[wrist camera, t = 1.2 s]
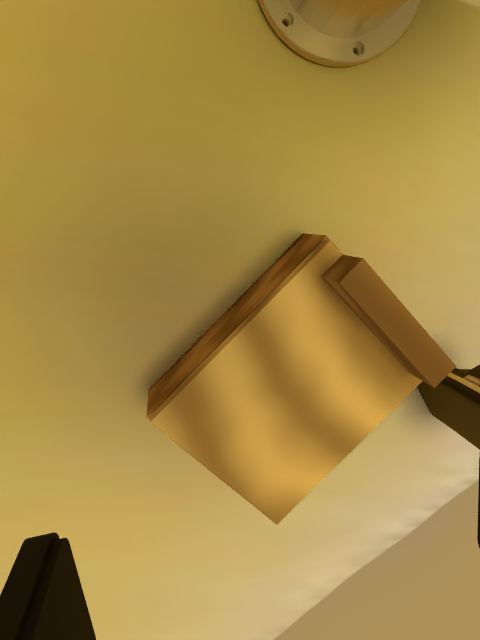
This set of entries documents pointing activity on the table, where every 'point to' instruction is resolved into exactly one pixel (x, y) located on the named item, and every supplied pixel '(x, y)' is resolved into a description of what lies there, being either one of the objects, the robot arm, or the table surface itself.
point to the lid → (301, 381)
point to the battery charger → (457, 402)
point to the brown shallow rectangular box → (232, 319)
